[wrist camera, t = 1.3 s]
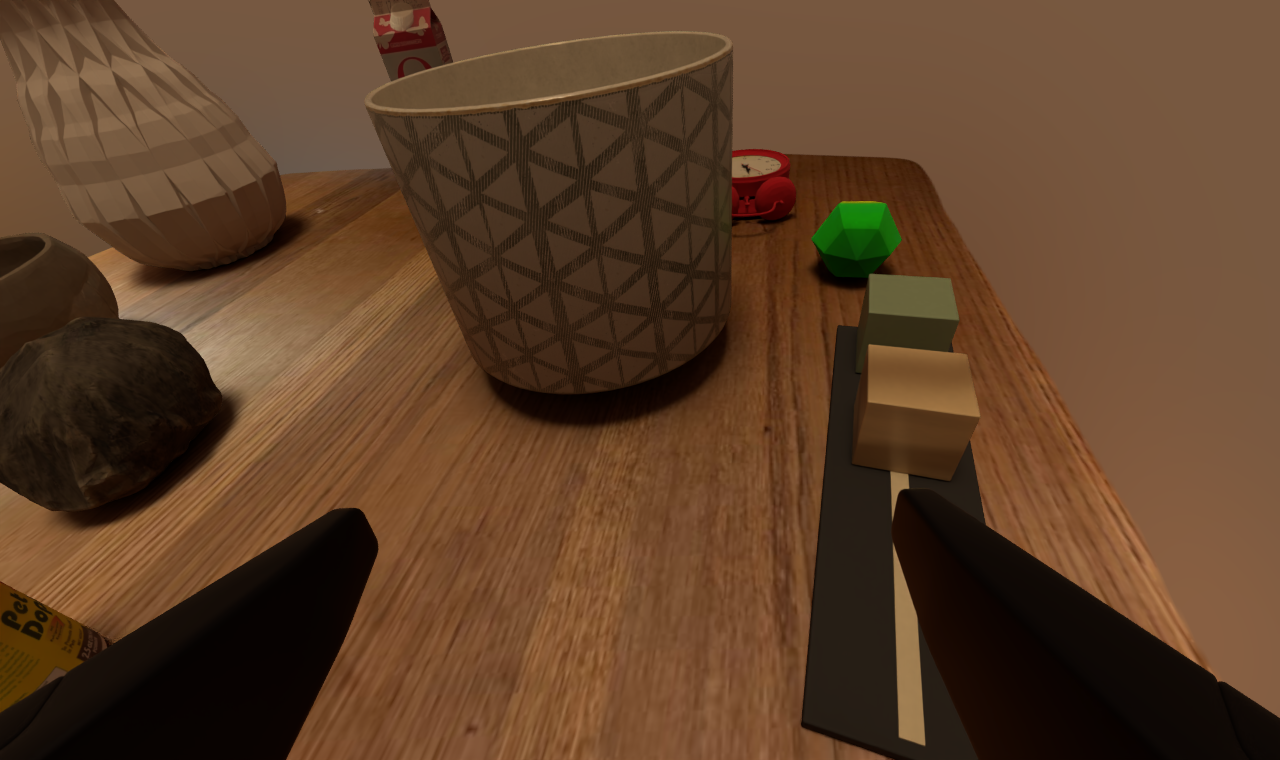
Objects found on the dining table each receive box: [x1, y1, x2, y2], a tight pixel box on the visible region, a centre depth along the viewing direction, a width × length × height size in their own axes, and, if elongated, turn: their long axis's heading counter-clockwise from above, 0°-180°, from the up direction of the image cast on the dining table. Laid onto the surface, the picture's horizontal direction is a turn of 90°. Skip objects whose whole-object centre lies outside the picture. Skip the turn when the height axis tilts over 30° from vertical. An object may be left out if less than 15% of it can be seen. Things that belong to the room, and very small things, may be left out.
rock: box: [0, 317, 222, 512], centre depth 31 cm, size 10×11×10 cm
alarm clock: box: [732, 149, 796, 220], centre depth 52 cm, size 10×6×15 cm
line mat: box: [801, 325, 986, 760], centre depth 25 cm, size 25×7×1 cm, turn 161°
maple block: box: [852, 344, 980, 481], centre depth 25 cm, size 4×4×4 cm
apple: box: [811, 201, 902, 278], centre depth 40 cm, size 7×6×9 cm
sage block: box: [856, 274, 959, 373], centre depth 30 cm, size 4×4×4 cm
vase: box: [0, 0, 286, 271], centre depth 52 cm, size 20×20×30 cm
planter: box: [364, 31, 733, 394], centre depth 32 cm, size 19×19×18 cm
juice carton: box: [369, 0, 453, 82], centre depth 64 cm, size 7×7×22 cm
